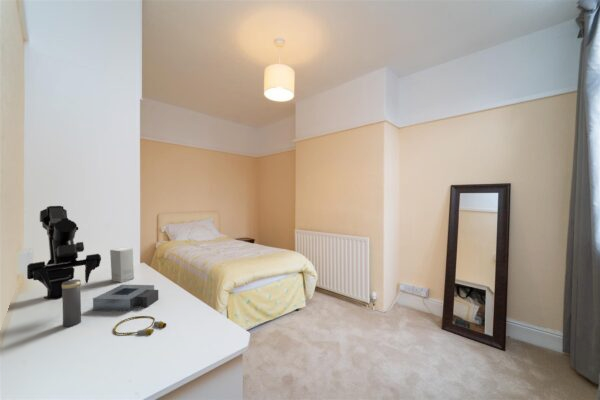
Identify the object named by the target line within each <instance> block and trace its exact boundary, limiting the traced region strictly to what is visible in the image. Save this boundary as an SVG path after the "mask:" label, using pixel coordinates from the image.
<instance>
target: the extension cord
mask: <svg viewBox="0 0 600 400" xmlns="http://www.w3.org/2000/svg"><path fill="white" fill-rule="evenodd" d="M141 318H142V319H143V318H147V319H153V321H152V323H151V325H149V326H147V327H145V328H143V329H139V330H138V331H132V332H131V331H130V332H117V331H116V329H117V328H118V327H119V326H120V325H121V324H123V323H125V322H128V321H131V320H134V319H141ZM155 320H156V318H155V317H153V316H151V315H139V316H131V317H128V318H125V319H123V320H121V321H119V322H118V323H116V325H115V326H114V328H113V333H114V335H115V336H128V335H132V334H137V335H138V336H139V335H141V336H149V335H150V336H151V335H153V333H154V331H155V330H154V328H151V327H152V326H155V327H157V328H158V329H159V328H161V329H164V327H165V328H166V327H167V323H166V322H163V321H161V320H160V321H157V320H156V321H155Z"/></svg>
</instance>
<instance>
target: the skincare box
mask: <svg viewBox="0 0 600 400" xmlns="http://www.w3.org/2000/svg"><path fill="white" fill-rule="evenodd" d="M109 251H110V252H109V254H110V272H111V273H110V274H111V281H113V282H118V283H124V282H128V281H131V280H134V279H135V272H134V271H135V270H134V269H135V268H134V248H132V247H123V246H122V247H119V248H112V249H110V250H109Z"/></svg>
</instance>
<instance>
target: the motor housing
mask: <svg viewBox="0 0 600 400" xmlns="http://www.w3.org/2000/svg"><path fill="white" fill-rule="evenodd" d="M157 301H159V289H155V285H154V284H120V285H118V286H115V287H114V288H112V289H110V290H108V291H106V292H104V293H102V294H99V295H97V296H95V297H93V298H92V309H93V312H130V313H131V311H133V310H135V309H136V308H148V307H150V306H151V305H153V304H154V303H156V302H157Z"/></svg>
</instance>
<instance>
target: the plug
mask: <svg viewBox="0 0 600 400" xmlns="http://www.w3.org/2000/svg"><path fill="white" fill-rule="evenodd" d="M81 284H82V280H81V279H72V280H69V281H66V282H63V283H62V297H61V300H62V327H63V328H71V327H74V326H78V325H79V324H81V322H82V309H81V308H82V304H81V303H82V302H81V301H82V299H81V298H82V296H81V290H82V289H81V286H82V285H81Z"/></svg>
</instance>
